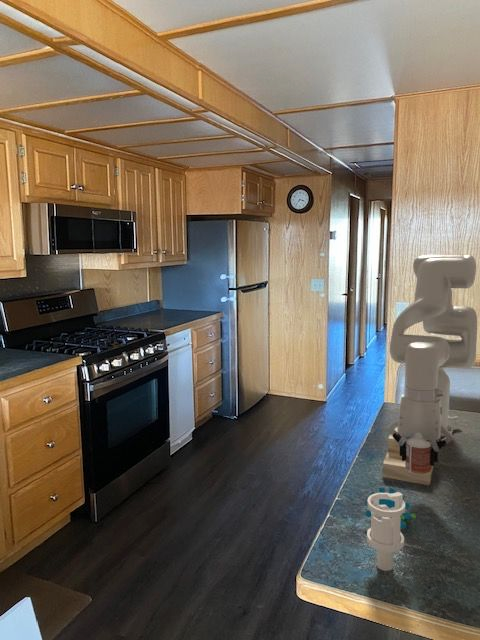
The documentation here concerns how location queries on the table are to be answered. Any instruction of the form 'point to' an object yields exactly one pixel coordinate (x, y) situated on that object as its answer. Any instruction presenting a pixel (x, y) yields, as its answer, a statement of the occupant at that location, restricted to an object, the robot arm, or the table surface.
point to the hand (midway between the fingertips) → (418, 460)
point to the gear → (404, 517)
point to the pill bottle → (418, 455)
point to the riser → (400, 465)
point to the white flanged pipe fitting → (385, 528)
